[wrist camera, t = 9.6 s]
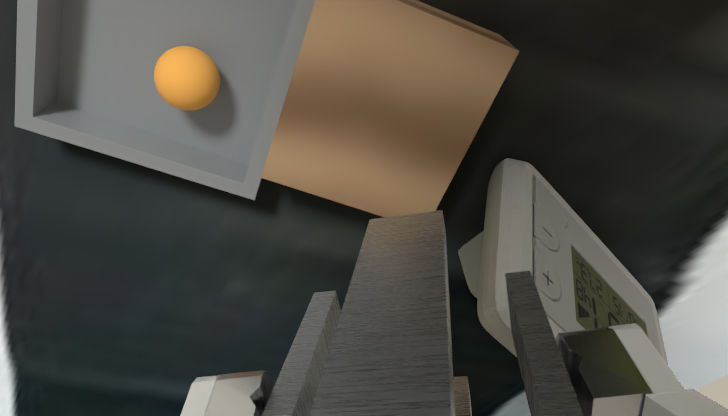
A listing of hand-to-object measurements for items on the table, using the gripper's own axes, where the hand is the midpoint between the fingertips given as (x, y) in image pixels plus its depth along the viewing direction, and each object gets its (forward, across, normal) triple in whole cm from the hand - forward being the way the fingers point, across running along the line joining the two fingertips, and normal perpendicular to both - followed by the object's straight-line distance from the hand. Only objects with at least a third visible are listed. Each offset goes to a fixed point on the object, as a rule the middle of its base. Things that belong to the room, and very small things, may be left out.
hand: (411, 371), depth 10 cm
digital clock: (+19, -9, +12) cm, 24 cm away
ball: (+17, +9, -3) cm, 19 cm away
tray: (+18, +9, -5) cm, 21 cm away
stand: (+18, 0, 0) cm, 18 cm away
